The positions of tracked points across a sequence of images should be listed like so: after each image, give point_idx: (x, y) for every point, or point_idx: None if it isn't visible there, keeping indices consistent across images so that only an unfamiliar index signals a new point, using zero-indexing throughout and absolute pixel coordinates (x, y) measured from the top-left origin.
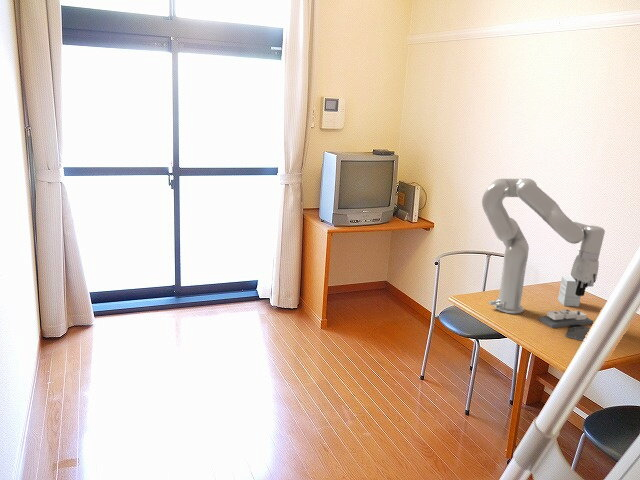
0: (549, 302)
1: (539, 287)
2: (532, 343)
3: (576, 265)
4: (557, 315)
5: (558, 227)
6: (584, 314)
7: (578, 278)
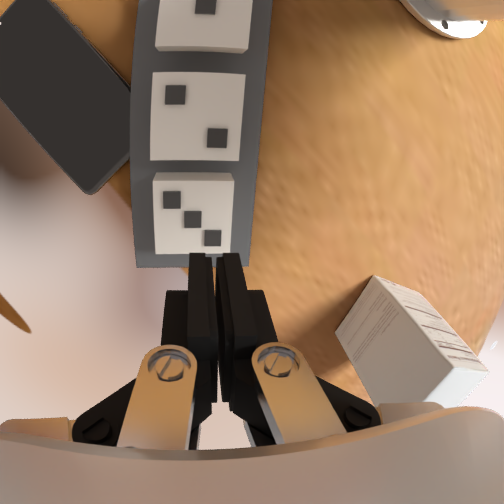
0: (424, 236)
1: (493, 298)
2: None
3: None
4: None
5: None
6: (165, 243)
7: (232, 491)
